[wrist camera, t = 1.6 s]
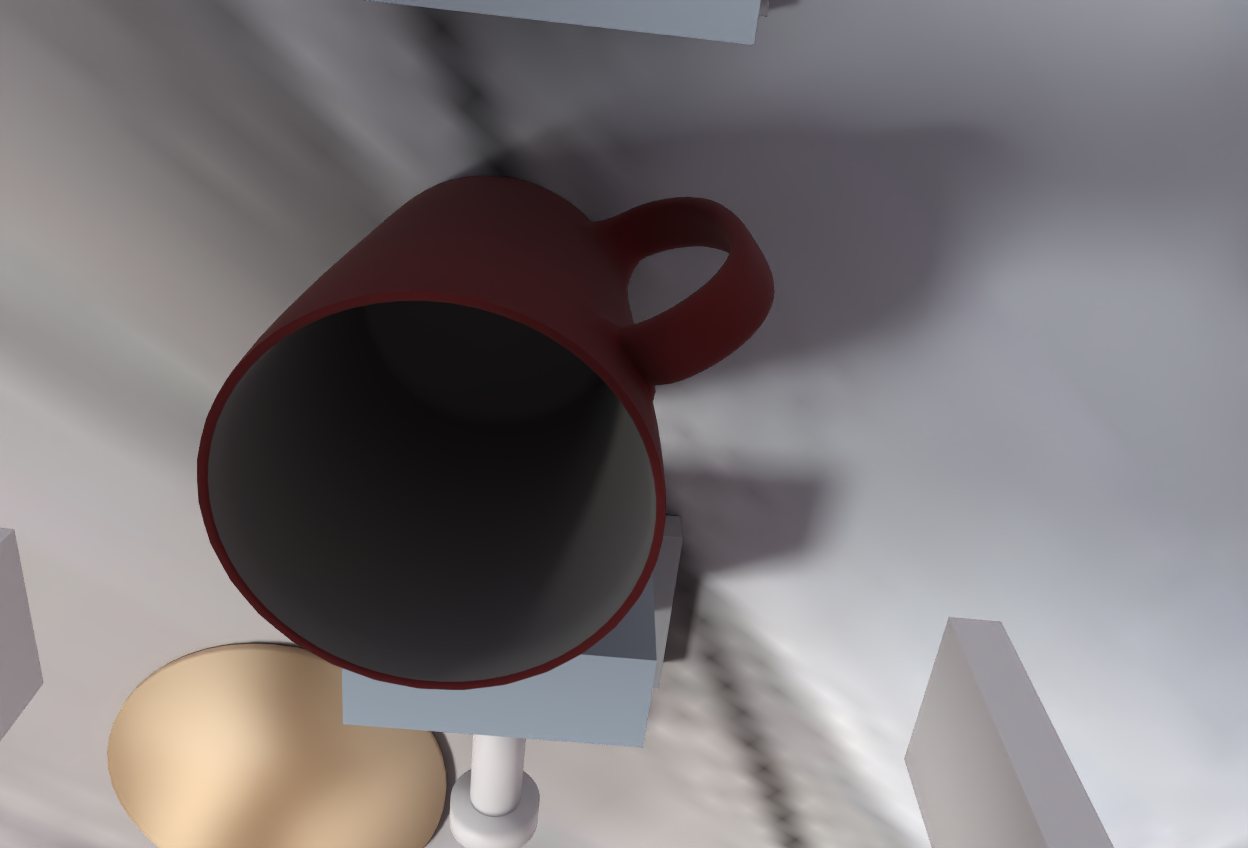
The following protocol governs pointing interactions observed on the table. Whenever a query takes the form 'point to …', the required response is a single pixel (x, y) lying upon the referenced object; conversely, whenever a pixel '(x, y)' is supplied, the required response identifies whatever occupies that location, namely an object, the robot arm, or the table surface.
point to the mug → (466, 433)
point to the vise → (634, 650)
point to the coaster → (268, 758)
